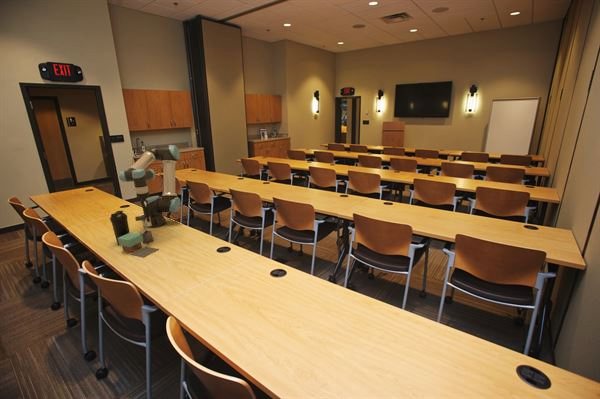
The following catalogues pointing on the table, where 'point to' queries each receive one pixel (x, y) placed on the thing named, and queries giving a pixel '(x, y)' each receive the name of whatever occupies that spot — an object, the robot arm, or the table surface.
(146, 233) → the lock block
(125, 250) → the case
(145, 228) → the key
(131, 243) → the cover
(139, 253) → the mat
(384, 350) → the table surface
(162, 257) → the table surface
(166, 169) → the robot arm
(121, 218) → the water bottle
